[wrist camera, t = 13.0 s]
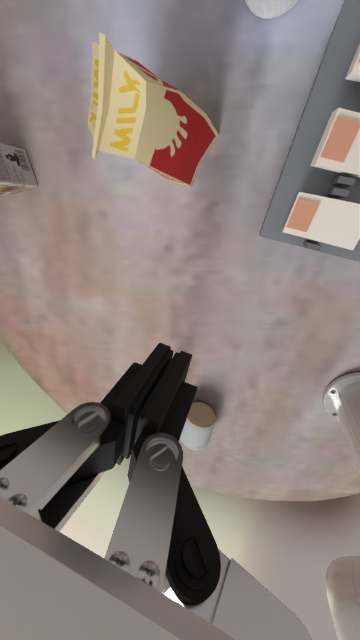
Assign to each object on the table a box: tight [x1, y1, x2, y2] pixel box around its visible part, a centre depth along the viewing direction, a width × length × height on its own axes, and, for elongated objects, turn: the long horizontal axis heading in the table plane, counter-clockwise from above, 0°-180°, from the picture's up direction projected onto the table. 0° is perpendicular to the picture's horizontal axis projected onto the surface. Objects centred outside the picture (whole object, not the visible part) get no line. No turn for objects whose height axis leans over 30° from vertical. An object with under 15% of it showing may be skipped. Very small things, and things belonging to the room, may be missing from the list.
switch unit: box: [260, 0, 360, 262], centre depth 25 cm, size 13×21×7 cm, turn 168°
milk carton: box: [87, 32, 219, 187], centre depth 25 cm, size 9×9×20 cm
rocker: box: [283, 192, 360, 250], centre depth 26 cm, size 8×4×1 cm, turn 79°
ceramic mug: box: [180, 402, 216, 450], centre depth 53 cm, size 11×8×8 cm
